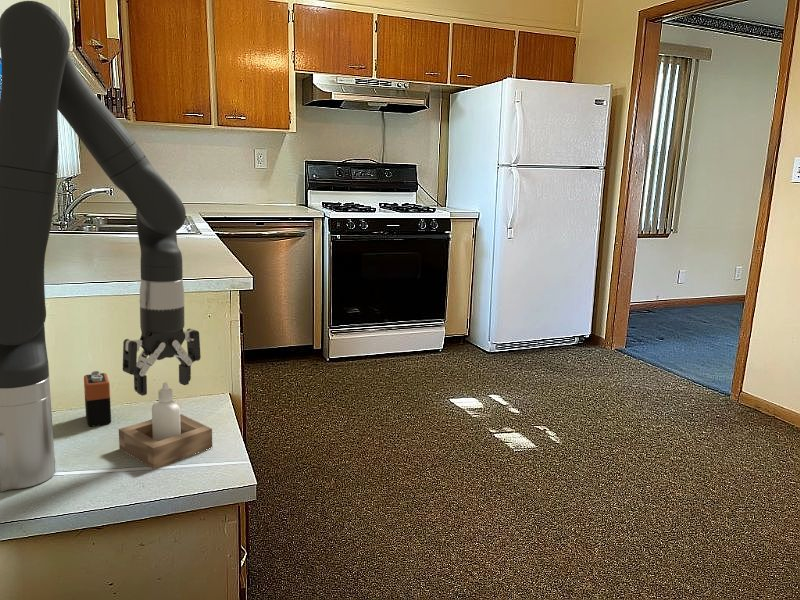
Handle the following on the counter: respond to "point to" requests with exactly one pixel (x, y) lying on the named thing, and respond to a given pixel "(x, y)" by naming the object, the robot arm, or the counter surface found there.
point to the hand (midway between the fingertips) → (163, 389)
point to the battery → (97, 399)
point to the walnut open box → (164, 442)
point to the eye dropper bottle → (165, 415)
